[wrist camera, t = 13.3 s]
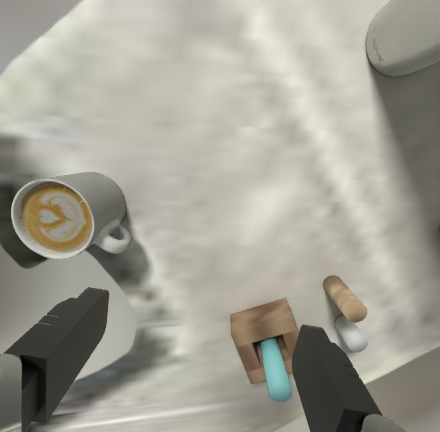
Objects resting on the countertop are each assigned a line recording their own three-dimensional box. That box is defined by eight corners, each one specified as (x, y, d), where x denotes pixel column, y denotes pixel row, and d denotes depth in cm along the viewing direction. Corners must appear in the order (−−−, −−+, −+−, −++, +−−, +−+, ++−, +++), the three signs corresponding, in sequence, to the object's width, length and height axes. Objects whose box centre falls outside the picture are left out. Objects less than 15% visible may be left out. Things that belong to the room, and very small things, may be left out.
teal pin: (271, 321, 45) (288, 380, 33) (276, 335, 45) (294, 397, 34) (254, 326, 45) (266, 386, 33) (260, 339, 46) (272, 403, 34)
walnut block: (285, 297, 44) (293, 316, 39) (301, 345, 46) (310, 367, 41) (230, 314, 44) (230, 334, 40) (248, 360, 47) (251, 384, 42)
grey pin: (349, 313, 44) (365, 333, 39) (353, 327, 45) (369, 349, 40) (332, 318, 44) (345, 338, 40) (336, 332, 45) (350, 354, 40)
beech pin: (338, 273, 42) (364, 300, 35) (343, 288, 43) (369, 318, 35) (321, 278, 43) (342, 306, 35) (325, 293, 43) (347, 324, 35)
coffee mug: (49, 201, 40) (-7, 217, 30) (90, 158, 38) (46, 160, 29) (112, 260, 42) (79, 293, 33) (154, 222, 41) (132, 244, 31)
